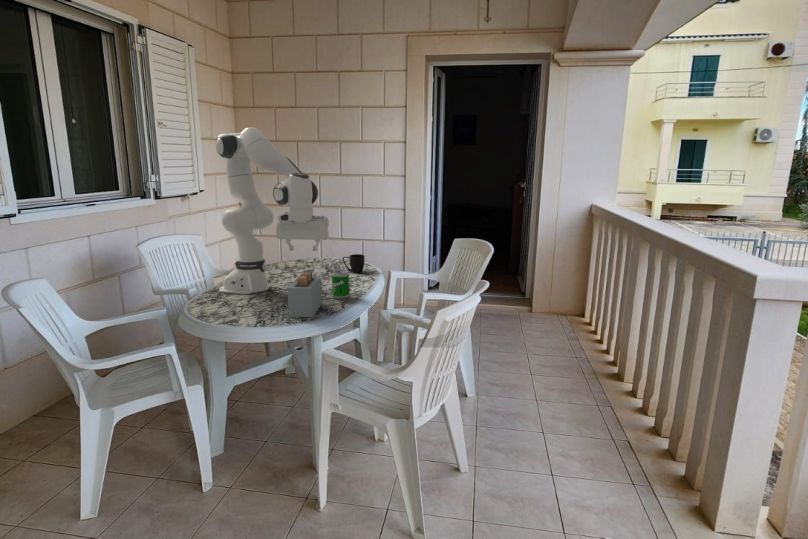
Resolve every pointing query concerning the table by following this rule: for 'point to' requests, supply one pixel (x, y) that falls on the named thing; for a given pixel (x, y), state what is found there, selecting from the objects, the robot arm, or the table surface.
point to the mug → (356, 263)
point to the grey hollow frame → (304, 298)
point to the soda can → (340, 284)
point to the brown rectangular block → (304, 279)
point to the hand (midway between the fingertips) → (303, 250)
